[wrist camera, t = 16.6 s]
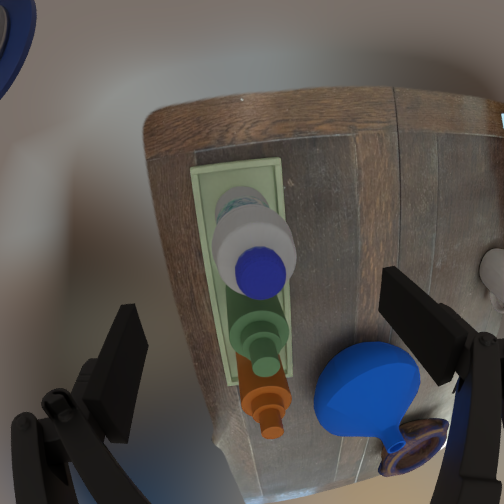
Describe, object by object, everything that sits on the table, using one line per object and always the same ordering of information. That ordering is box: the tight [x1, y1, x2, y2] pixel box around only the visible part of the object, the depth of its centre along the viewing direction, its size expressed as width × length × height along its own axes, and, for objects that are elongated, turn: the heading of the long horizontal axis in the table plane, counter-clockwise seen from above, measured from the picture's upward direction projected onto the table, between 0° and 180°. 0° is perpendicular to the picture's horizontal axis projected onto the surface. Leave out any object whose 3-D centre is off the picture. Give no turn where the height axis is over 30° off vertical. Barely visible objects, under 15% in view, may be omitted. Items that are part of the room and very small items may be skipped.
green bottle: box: [225, 285, 289, 377], centre depth 35 cm, size 6×6×16 cm
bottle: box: [212, 186, 297, 300], centre depth 29 cm, size 7×7×20 cm
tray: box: [190, 157, 293, 386], centre depth 42 cm, size 34×11×2 cm, turn 6°
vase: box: [314, 341, 420, 453], centre depth 42 cm, size 18×18×19 cm
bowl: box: [378, 418, 449, 477], centre depth 59 cm, size 18×18×10 cm
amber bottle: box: [236, 352, 292, 439], centre depth 39 cm, size 6×6×16 cm
